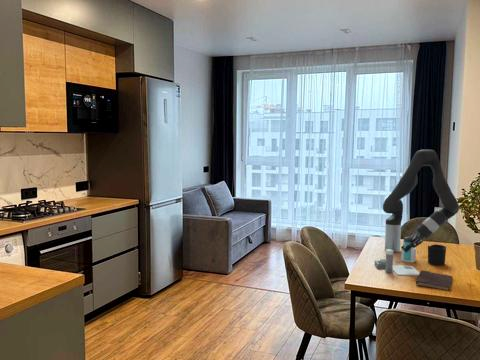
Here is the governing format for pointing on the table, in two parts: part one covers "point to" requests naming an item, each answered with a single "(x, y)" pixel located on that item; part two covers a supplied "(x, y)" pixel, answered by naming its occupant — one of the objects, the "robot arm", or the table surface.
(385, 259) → the button
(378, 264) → the button housing
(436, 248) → the pen holder
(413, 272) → the sheet
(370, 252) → the table surface
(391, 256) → the grey marker
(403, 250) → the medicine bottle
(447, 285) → the notebook
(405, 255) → the marker
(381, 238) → the table surface
